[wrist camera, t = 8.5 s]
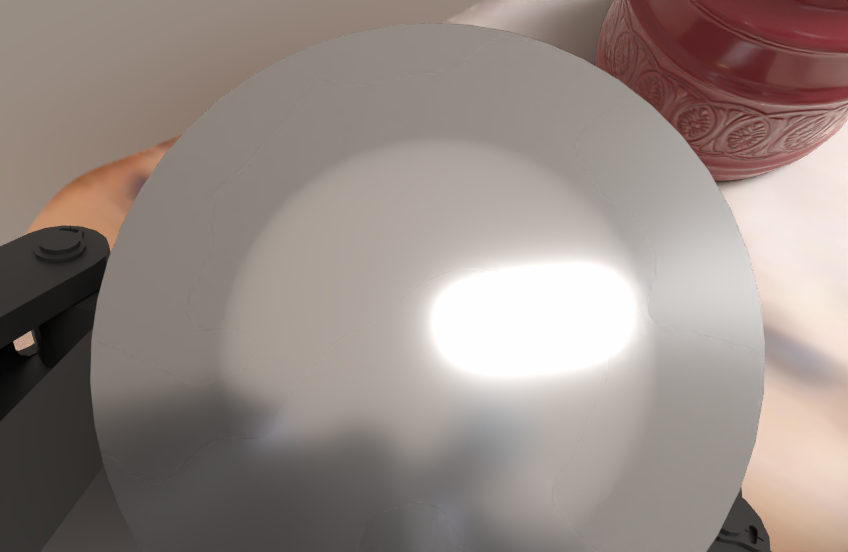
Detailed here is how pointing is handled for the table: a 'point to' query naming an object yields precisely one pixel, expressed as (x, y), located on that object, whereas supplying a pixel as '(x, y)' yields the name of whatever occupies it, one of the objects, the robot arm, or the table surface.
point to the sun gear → (428, 313)
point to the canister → (735, 74)
